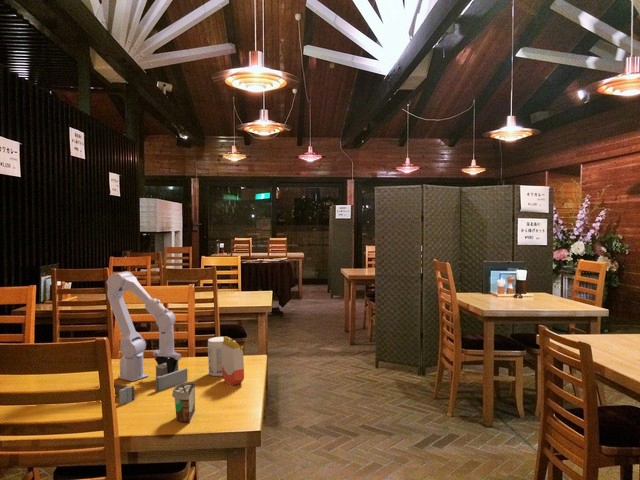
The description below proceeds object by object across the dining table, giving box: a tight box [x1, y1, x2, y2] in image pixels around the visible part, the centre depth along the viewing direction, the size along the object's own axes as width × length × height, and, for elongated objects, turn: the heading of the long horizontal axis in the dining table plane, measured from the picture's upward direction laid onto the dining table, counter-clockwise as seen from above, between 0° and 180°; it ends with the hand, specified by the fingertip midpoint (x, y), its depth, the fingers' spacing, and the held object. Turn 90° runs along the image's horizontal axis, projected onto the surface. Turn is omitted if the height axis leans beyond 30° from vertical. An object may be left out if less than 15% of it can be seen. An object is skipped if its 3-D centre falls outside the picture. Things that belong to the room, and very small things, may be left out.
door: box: [113, 382, 135, 402], centre depth 174 cm, size 1×11×5 cm, turn 62°
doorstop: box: [155, 361, 179, 378], centre depth 196 cm, size 4×8×6 cm, turn 148°
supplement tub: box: [207, 336, 231, 377], centre depth 202 cm, size 10×10×15 cm
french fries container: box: [222, 335, 245, 386], centre depth 190 cm, size 5×11×18 cm, turn 37°
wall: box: [118, 367, 188, 406], centre depth 180 cm, size 2×30×5 cm, turn 148°
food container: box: [171, 380, 196, 424], centre depth 155 cm, size 12×6×10 cm, turn 5°
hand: (167, 374), depth 196 cm, fingers closed on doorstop, 4 cm apart
